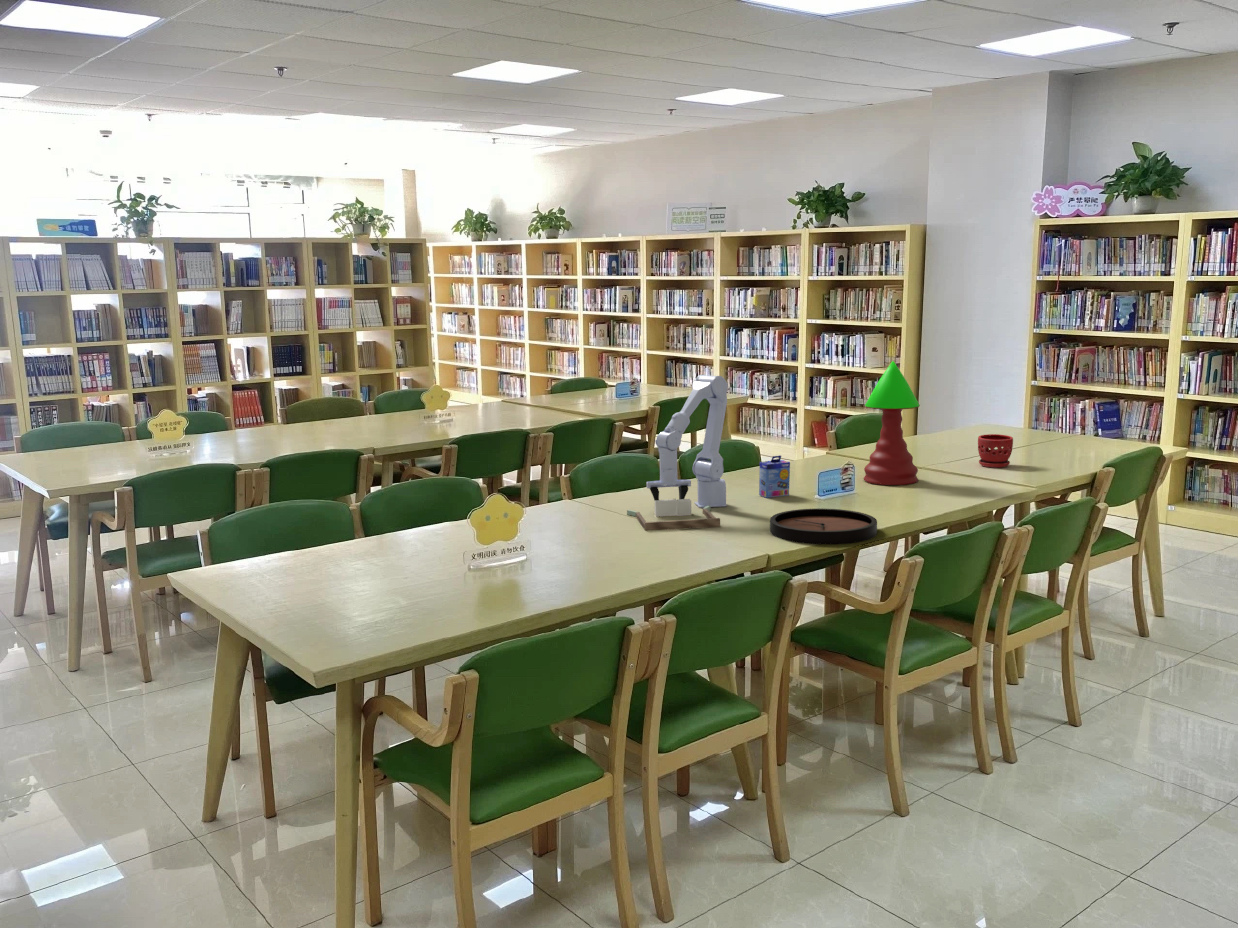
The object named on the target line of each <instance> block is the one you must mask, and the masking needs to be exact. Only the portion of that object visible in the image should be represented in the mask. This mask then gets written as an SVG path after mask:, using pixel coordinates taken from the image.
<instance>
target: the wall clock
mask: <svg viewBox="0 0 1238 928" xmlns="http://www.w3.org/2000/svg"><path fill="white" fill-rule="evenodd" d="M769 533H770V534H771V535H772V536H773V537H775V538H778V539H779V540H780V539H781V540H784V541H787V542H792V543H799V544H805V545H822V546H823V545H824V546H826V545H830V546H831V545H849V544H856V543H857V544H858V543H861V542H865V541H869V540H872V539H874V538H875V537H876V536H877V534H878V520H877V518H875V517H874V516H872V515H869V514H868V513H864V512H860V511H854V510H847V509H839V508H801V509H800V508H799V509H792V510H791V509H790V510H786V511H780V512H779V513H775V514H773V515H772V516H770V519H769Z"/></svg>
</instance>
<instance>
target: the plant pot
mask: <svg viewBox="0 0 1238 928" xmlns="http://www.w3.org/2000/svg"><path fill="white" fill-rule="evenodd" d="M1013 447H1014V437H1012V436H1011V435H1007V434H1000V433H999V434H998V433H996V434H993V433H989V434H981V435H979V436H978V437H977V451H978V454H979V455H978V456H979V457H980V459H979V460H978V463H979V464H980V465H981V467H982V466H983V467H986V468H993V469H997V468H998V469H1001V468H1005V467H1008V466H1009V465H1010V464H1011V462H1010V460H1009V459H1010V458H1011V456H1012V452H1013ZM996 448H997V449H996Z"/></svg>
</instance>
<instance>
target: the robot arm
mask: <svg viewBox="0 0 1238 928" xmlns="http://www.w3.org/2000/svg"><path fill="white" fill-rule="evenodd" d="M728 387H729V383H728V382H727V381H726V379H725V378H724V377H723V376H722V375H708V374H707V375H706V374H699V375H697V377H695V380H694V382H693V383H692V390H691V392H690V393H689V395H688V397H687V399H686V400H685V403H684V404H683V407H682V408H681V410H680V411H679V412H675V413H674V414H673V415H672V416H671V419H670V421H669V422H668V424H667V425H666V427H665V428H664V430H663V431H660V433H659V434H658V435H657V436H656V439H655V440H654V442H655V445H656V447H657V449H658V453H659V480H652V481H651V480H650V481H646V489H649V491H650V492H651V494H652V497H653V499H654V500H660V491H659V489H660V488H674V487H677V488H678V500H679V499H686V496H687V493H688V491H689V487H692V480H691V479H678V448H679V447H680V446H681V445H682V438H683V434H684V433H685V431H686V429H687V428H688V426H689V425H690V423H691V420H690V417H691V415H693V413H694V411H695V410H696V409H697V408H698V407H699V405H700V404H701V402H702V401H703V400H707V401H708V404H709V409H708V414H707V415H708V416H707V421H706V426H705V433H704V439H703V444H702V449H701V451H700V452H698V453H697V454H696V457H695V460H694V462H693V464H692V473H693V474H694V476H695V479H697V501H694V504H695V505H696V506H697V507H698V508H699V509H700V508H702V509H703V508H704V507H706V506H711V508H718V507H727V506H728V504H727V486H726V485H727V483H726V480H725V479H724V478H722V476H723V475H724V471H725V469H724V457H722V456H721V454H720V452H719V451H720V446H721V441H722V435H723V428H724V424H725V423H724V422H725V417H726V411H727V405H728V395H727V394H728V393H727V392H728ZM654 500H653V501H654Z"/></svg>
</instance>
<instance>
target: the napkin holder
mask: <svg viewBox="0 0 1238 928" xmlns="http://www.w3.org/2000/svg"><path fill="white" fill-rule="evenodd" d="M653 501H654V516H655V517H656V518H658V517H659V516H660V517H669V516H670V517H671V516H675V517H683V516H692V499H690V498H684V499H679V498H678V499H677V498H672V499H671V498H669V499H659V500H653Z"/></svg>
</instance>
